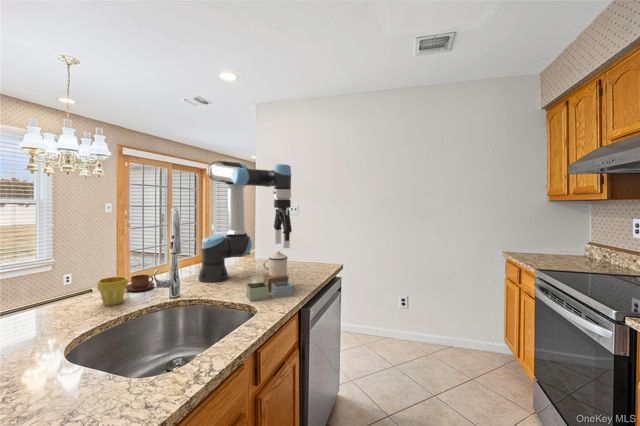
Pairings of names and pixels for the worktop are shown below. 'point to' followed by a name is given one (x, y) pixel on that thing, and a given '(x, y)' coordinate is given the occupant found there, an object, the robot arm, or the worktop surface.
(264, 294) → the olive tin
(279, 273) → the teacup with lid
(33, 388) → the worktop surface
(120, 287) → the plant pot
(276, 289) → the grey tub
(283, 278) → the walnut stand
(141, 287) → the cup and saucer
